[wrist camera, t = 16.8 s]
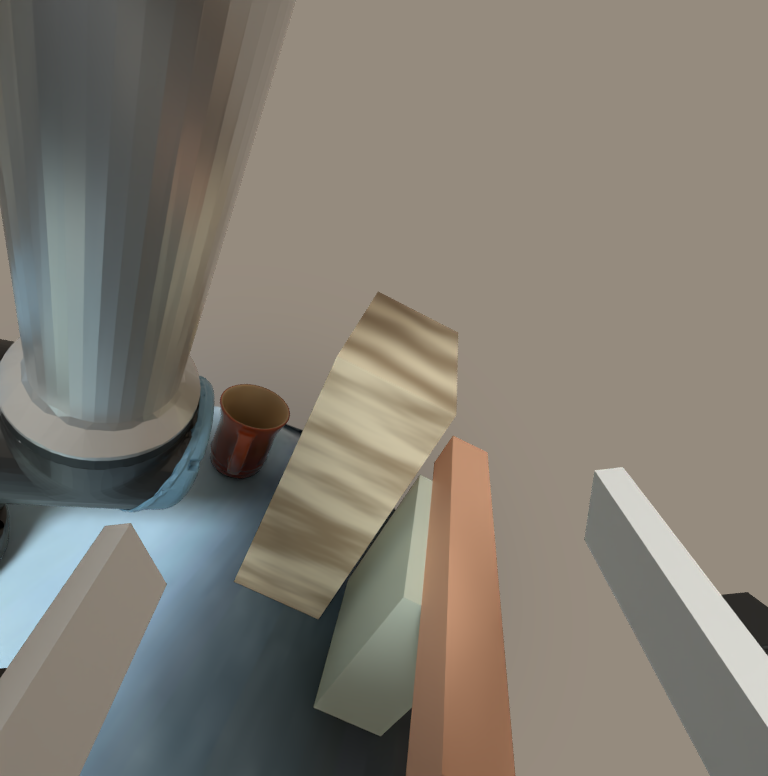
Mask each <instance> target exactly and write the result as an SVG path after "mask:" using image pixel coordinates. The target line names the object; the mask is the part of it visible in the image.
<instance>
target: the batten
mask: <svg viewBox="0 0 768 776" xmlns="http://www.w3.org/2000/svg"><path fill="white" fill-rule="evenodd" d="M406 776H515V767H514V754H513V743H512V731H511V720H510V708H509V697H508V685H507V673H506V662H505V650H504V639H503V628H502V616H501V605H500V593H499V581H498V570H497V558H496V546H495V535H494V523H493V512H492V500H491V489H490V477H489V466H488V454H487V452H485V451H483V450H481V449H479V448H477V447H475V446H473V445H471V444H469V443H467V442H465V441H463V440H461V439H459V438H457V437H455V436H452V438H451V439H450V441H449V442H448V444H447V445H446V447H445V448H444V449H443V451H442V452H441V454H440V456H439V457H438V458H437V460H436V461H435V463H434V472H433V483H432V494H431V505H430V516H429V527H428V538H427V549H426V560H425V571H424V582H423V593H422V604H421V615H420V626H419V637H418V648H417V659H416V670H415V681H414V692H413V703H412V714H411V725H410V736H409V747H408V758H407V769H406Z"/></svg>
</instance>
